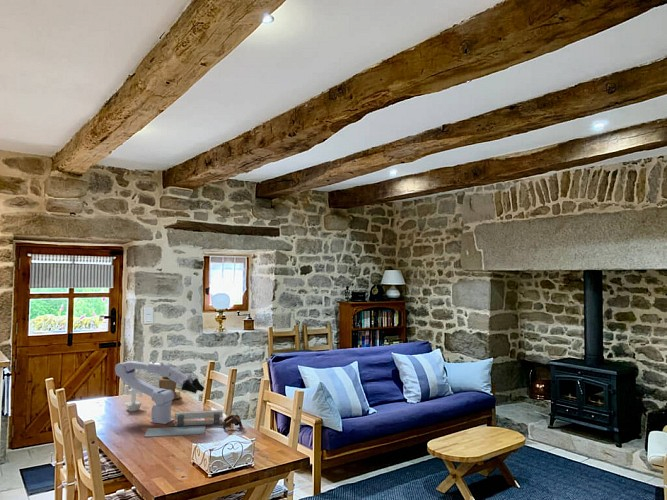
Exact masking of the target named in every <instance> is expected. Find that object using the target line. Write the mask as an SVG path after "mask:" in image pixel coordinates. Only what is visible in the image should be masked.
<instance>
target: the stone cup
mask: <svg viewBox="0 0 667 500" xmlns="http://www.w3.org/2000/svg"><path fill="white" fill-rule="evenodd" d="M177 385H178V384H177V383H176V382H174V381H173V380H171V379H169V378H168V377H166V376H161V377H160V378H159V381H158V388H162V389H166V390H172V391H173V393H174V399H173V400H179V399H181V392H180V391H176V388H177Z"/></svg>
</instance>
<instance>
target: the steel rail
mask: <svg viewBox="0 0 667 500" xmlns="http://www.w3.org/2000/svg"><path fill="white" fill-rule="evenodd" d="M214 414H220V419H221V418H223V417H224V410H223V409H219V410H195V411H194V410H191V411H175V412H174V420H176V421H178V420H177V419H178V416H184V420H194V419H196V420H198V419H199V420H200V419H214Z"/></svg>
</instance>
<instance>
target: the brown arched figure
mask: <svg viewBox="0 0 667 500" xmlns="http://www.w3.org/2000/svg"><path fill="white" fill-rule="evenodd" d="M232 425H234V426H235V427H236V426H238V427H239V429H240V431H241V432H242V431H243V429H244V427H243V423H242V420H241V418H240V415H239V414H231V415H228V416H227V417H226V418H224V419H223V420H222V428H223V430H225V429H227V428H232Z"/></svg>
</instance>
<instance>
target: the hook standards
mask: <svg viewBox="0 0 667 500" xmlns="http://www.w3.org/2000/svg"><path fill="white" fill-rule="evenodd" d="M222 422H223V419H221V418H220V414H214V418H213V419H207V420H205V419H204V420H203V419H202V420H186V421H185V419H184V416H178V419H177V420H176V421H174V426H173V427H192V426H206V427H217V426H219V425H220V426H219V427H221V426H222V427H223V424H222Z"/></svg>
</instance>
